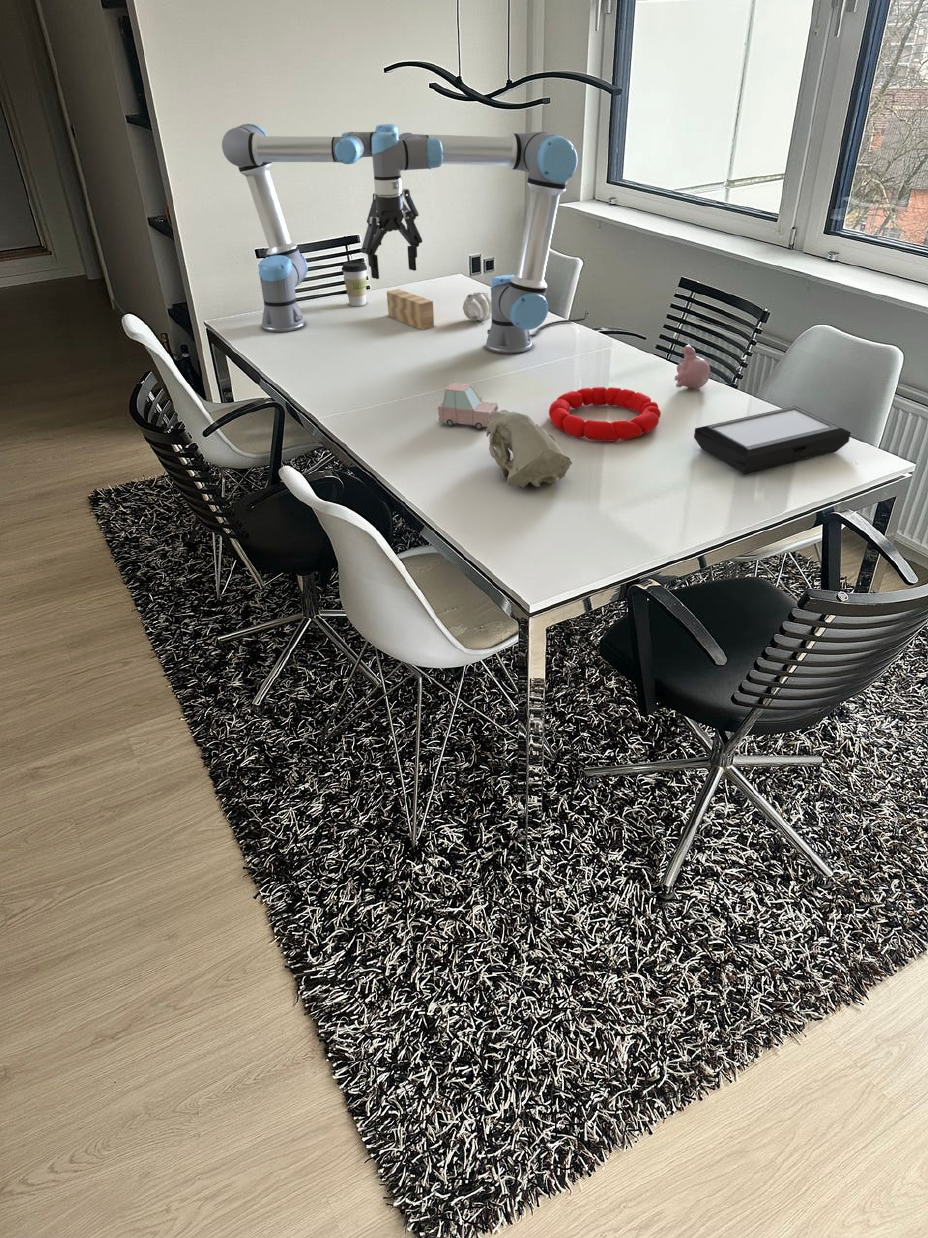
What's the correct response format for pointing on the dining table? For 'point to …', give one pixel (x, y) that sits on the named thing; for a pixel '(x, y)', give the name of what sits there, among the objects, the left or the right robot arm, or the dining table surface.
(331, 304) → the dining table surface
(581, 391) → the decorative ring
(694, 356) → the figurine
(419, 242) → the right robot arm
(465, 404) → the toy car
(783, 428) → the electronic device
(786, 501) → the dining table surface
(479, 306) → the seashell
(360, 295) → the coffee cup
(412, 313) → the bar
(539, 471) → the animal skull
